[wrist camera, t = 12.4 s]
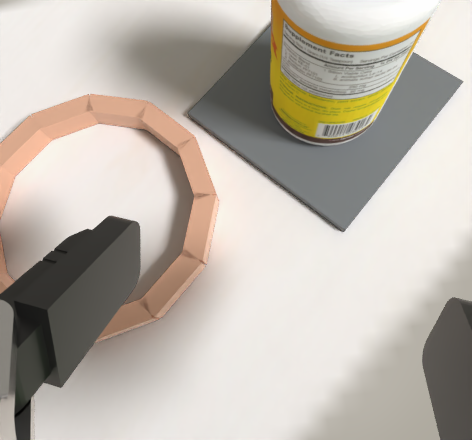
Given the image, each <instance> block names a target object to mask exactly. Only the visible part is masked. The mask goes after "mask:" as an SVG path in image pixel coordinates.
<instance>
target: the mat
mask: <svg viewBox="0 0 472 440" xmlns="http://www.w3.org/2000/svg"><path fill="white" fill-rule="evenodd" d="M270 56H271V25H270V27H269V28H268V29H267V30H266V31H265V32H264V33H263V34H262V35H261V36H260V37H259V38H258V39H257V40H256V41H255V42H254V43H253V45H252V46H251V47H250V48H249V49H248V50H247V51H246V52H245V53H244V54H243V55H242V56H241V57H240V58H239V59H238V60H237V61H236V62H235V64H234V65H233V66H232V67H231V68H230V69H229V70H228V71H227V72H226V73H225V74H224V75H223V76H222V77H221V78H220V79H219V80H218V82H217V83H216V84H215V85H214V86H213V87H212V88H211V89H210V90H209V91H208V92H207V93H206V94H205V95H204V96H203V97H202V98H201V99H200V101H199V102H198V103H197V104H196V105H195V106H194V107H193V108H192V109H191V110H190V111H189V112H188V115H189V117H190V118H192V119H193V120H194V121H196V122H197V123H198V124H200V125H201V126H202V127H204V128H205V129H206V130H208V131H209V132H210V133H212V134H213V135H214V136H216V137H217V138H218V139H220V140H221V141H222V142H224V143H225V144H226V145H228V146H229V147H230V148H232V149H233V150H234V151H236V152H237V153H238V154H240V155H241V156H242V157H244V158H245V159H246V160H248V161H249V162H250V163H252V164H253V165H254V166H256V167H257V168H259V169H260V170H261V171H263V172H264V173H265V174H267V175H268V176H269V177H271V178H272V179H273V180H275V181H276V182H277V183H279V184H280V185H281V186H283V187H284V188H285V189H287V190H288V191H289V192H291V193H292V194H293V195H295V196H296V197H297V198H299V199H300V200H301V201H303V202H304V203H305V204H307V205H308V206H309V207H311V208H312V209H313V210H315V211H316V212H317V213H319V214H320V215H321V216H323V217H324V218H325V219H327V220H328V221H330V222H331V223H332V224H334V225H335V226H336V227H338V228H339V229H340V230H342V231H343V232H344V231H345V230H346V229H347V227H348V226H349V225H350V224H351V222H352V221H353V220H354V219H355V217H356V216H357V215H358V214H359V212H360V211H361V210H362V209H363V207H364V206H365V205H366V203H367V202H368V201H369V200H370V198H371V197H372V196H373V195H374V193H375V192H376V191H377V190H378V188H379V187H380V186H381V185H382V183H383V182H384V181H385V180H386V178H387V177H388V176H389V175H390V173H391V172H392V171H393V170H394V168H395V167H396V166H397V165H398V163H399V162H400V161H401V160H402V158H403V157H404V156H405V155H406V153H407V152H408V151H409V150H410V148H411V147H412V146H413V144H414V143H415V142H416V141H417V139H418V138H419V137H420V136H421V134H422V133H423V132H424V131H425V129H426V128H427V127H428V126H429V124H430V123H431V122H432V121H433V119H434V118H435V117H436V116H437V114H438V113H439V112H440V111H441V109H442V108H443V107H444V106H445V104H446V103H447V102H448V101H449V99H450V98H451V97H452V96H453V94H454V93H455V92H456V90H457V89H458V88H459V87H460V85H461V84H462V83H463V81H462V80H460V79H458V78H457V77H455V76H453V75H451V74H450V73H448V72H446V71H445V70H443V69H441V68H439V67H438V66H436V65H434V64H433V63H431V62H429V61H428V60H426V59H424V58H422V57H421V56H419V55H417V54H416V53H414V52H413V53H412V55H411V57H410V58H409V60H408V62H407V64H406V66H405V67H404V69H403V71H402V73H401V75H400V77H399V79H398V80H397V82H396V84H395V86H394V88H393V89H392V91H391V93H390V95H389V97H388V99H387V100H386V102H385V104H384V106H383V107H382V109H381V111H380V113H379V115H378V116H377V118H376V120H375V121H374V123H373V124H372V125H371V126H370V127H369V128H368V129H367V130H366V131H365V132H364V133H363V134H361V135H360V136H358V137H357V138H355V139H353V140H351V141H348V142H346V143H342V144H338V145H331V146H321V145H314V144H310V143H306V142H304V141H301V140H299V139H297V138H295V137H294V136H292V135H291V134H290V133H288V132H287V131H286V130H285V129H284V128H283V127H282V126H281V124H280V123H279V122H278V120H277V119H276V117H275V115H274V112H273V110H272V106H271V100H270V64H271V57H270Z"/></svg>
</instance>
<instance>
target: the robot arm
mask: <svg viewBox="0 0 472 440" xmlns="http://www.w3.org/2000/svg"><path fill="white" fill-rule="evenodd" d="M139 274H140V226H139V223H138V222H136V221H132V220H127V219H123V218H119V217H115V216H108V217H107V218H106V219H104V220H103V221H102V222H101V223H100V224H99V225H98V226H97V227H95V228H94V229H93V230H90V229H86V230H83V231H81V232H79V233H76V234H74V235H72V236H69V237H68V238H67V239H65V240H64V241H63V242H62V243H61V244H59V245H58V246H57V247H56V248H55V250H54V251H51V252H50V253H49V254H47V255H46V256H45V257H44V258H43V260H42V261H39V262H38V263H37V264H35V265H34V266H33V267H32V268H31V269H29V270H28V271H27V272H26V273H25V274H23V275H22V276H21V277H20V278H19V279H18V280H16V281H15V282H14V283H13V284H12V285H10V286H9V287H8V288H7V289H6V290H4V291H3V292H2V293H1V294H0V440H34V426H35V401H34V394H35V392H36V391H37V390H38V389H39V387H40V386H41V385H42V384H43V382H44V383H47V384H51V385H54V386H57V387H60V388H61V387H62V386H63V385H64V383H65V382H66V381H67V379H68V378H69V377H70V375H71V374H72V373H73V371H74V370H75V368H76V367H77V366H78V364H79V363H80V362H81V360H82V359H83V358H84V356H85V355H86V353H87V352H88V351H89V349H90V348H91V347H92V345H93V344H94V343H95V341H96V340H97V339H98V337H99V336H100V334H101V333H102V332H103V330H104V329H105V328H106V326H107V325H108V324H109V322H110V321H111V319H112V318H113V317H114V315H115V314H116V313H117V311H118V310H119V309H120V307H121V306H122V304H123V303H124V302H125V300H126V299H127V298H128V296H129V295H130V294H131V292H132V291H133V289H134V288H135V286H136V284H137V281H138V278H139ZM422 362H423V369H424V373H425V377H426V381H427V386H428V390H429V394H430V398H431V402H432V407H433V411H434V415H435V419H436V423H437V428H438V432H439V436H440V440H472V302H471V301H467V300H463V299H459V298H451V299H450V300H449V301H448V302H447V303H446V305H445V307H444V309H443V311H442V312H441V314H440V316H439V318H438V320H437V322H436V324H435V326H434V327H433V329H432V331H431V333H430V335H429V337H428V338H427V341H426V343H425V346H424V349H423V359H422Z"/></svg>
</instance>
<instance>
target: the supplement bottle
mask: <svg viewBox="0 0 472 440" xmlns="http://www.w3.org/2000/svg"><path fill="white" fill-rule="evenodd" d="M440 2H441V0H271V56H270V57H271V64H270V100H271V106H272V110H273V112H274V115H275V117H276V119H277V120H278V122H279V123H280V124H281V126H282V127H283V128H284V129H285V130H286V131H287V132H288V133H290V134H291V135H292V136H294V137H295V138H297V139H299V140H301V141H304V142H306V143H310V144H314V145H321V146H331V145H338V144H342V143H346V142H348V141H351V140H353V139H355V138H357V137H358V136H360V135H361V134H363V133H364V132H365V131H366V130H367V129H368V128H369V127H370V126H371V125H372V124H373V123H374V121H375V120H376V118H377V116H378V115H379V113H380V111H381V109H382V107H383V106H384V104H385V102H386V100H387V99H388V97H389V95H390V93H391V91H392V89H393V88H394V86H395V84H396V82H397V80H398V79H399V77H400V75H401V73H402V71H403V69H404V67H405V66H406V64H407V62H408V60H409V58H410V57H411V55H412V53H413V51H414V49H415V48H416V46H417V44H418V42H419V40H420V38H421V36H422V35H423V33H424V31H425V29H426V27H427V25H428V24H429V22H430V20H431V18H432V16H433V15H434V13H435V11H436V9H437V8H438V6H439V4H440Z"/></svg>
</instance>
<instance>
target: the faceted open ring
mask: <svg viewBox="0 0 472 440" xmlns="http://www.w3.org/2000/svg"><path fill="white" fill-rule="evenodd" d="M98 123H100V124H108V125H115V126H123V127H131V128H138V129H146V130H147V131H149V132H150V133H151V134H152V135H154V136H155V137H156V138H158V139H159V140H160V141H161V142H163V143H164V144H165V145H166V146H168V147H169V148H170V149H172V150H173V151H174V152H175V153H177V154H178V155H179V156H180V157H181V159H182V162H183V165H184V168H185V171H186V174H187V177H188V179H189V182H190V185H191V188H192V191H193V194H194V200H193V205H192V209H191V214H190V219H189V223H188V228H187V232H186V237H185V241H184V246H183V251H182V253H181V254H180V255H179V256H178V257H177V259H176V260H175V261H174V262H173V263H172V264H171V265H170V266H169V268H168V269H167V270H166V271H165V272H164V273H163V274H162V276H161V277H160V278H159V279H158V280H157V281H156V282H155V284H154V285H153V286H152V287H151V288H150V289H149V290H148V292H147V293H146V294H145V295H144V296H143V297H142V298H141V299H139V300H136V301H133V302H130V303H128V304H125V305H122V306H121V307H120V309H119V310H118V311H117V313H116V314H115V315H114V317H113V318H112V319H111V321H110V322H109V324H108V325H107V326H106V328H105V329H104V330H103V332H102V333H101V334H100V336H99V337H98V339H97V340H96V341H95V343H97V342H100V341H102V340H105V339H108V338H110V337H113V336H116V335H119V334H121V333H124V332H127V331H129V330H132V329H135V328H137V327H140V326H143V325H146V324H148V323H151V322H154V321H156V320H159V318H162V317H163V316H164V315H165V313H166V312H167V311H168V310H169V309H170V308H171V306H172V305H173V304H174V303H175V302H176V301H177V299H178V298H179V297H180V296H181V295H182V294H183V292H184V291H185V290H186V289H187V288H188V287H189V285H190V284H191V283H192V282H193V281H194V280H195V278H196V277H197V276H198V275H199V274H200V273H201V271H202V270H203V269H204V268H205V267H206V266H205V265H204V264H207V260H208V256H209V251H210V246H211V241H212V236H213V231H214V226H215V221H216V216H217V211H218V206H219V202H218V201H219V200H218V197H217V195H216V192H215V189H214V186H213V184H212V181H211V178H210V175H209V173H208V170H207V167H206V165H205V162H204V159H203V156H202V154H201V151H200V148H199V145H198V143H197V140H196V137H195V136H194V135H193V134H191V133H190V132H189V131H188V130H186V129H185V128H184V127H182V126H181V125H180V124H178V123H177V122H176V121H174V120H173V119H172V118H170V117H169V116H168V115H166V114H165V113H164V112H162V111H161V110H160V109H159V108H157V107H156V106H155V105H153V104H152V103H151V102H149V103H148V101H144V100H136V99H128V98H120V97H112V96H104V95H95V94H90V95H89V94H88V95H85V96H82V97H79V98H76V99H73V100H71V101H68V102H65V103H62V104H59V105H56V106H54V107H51V108H48V109H45V110H42V111H39V112H37V113H34V114H32V117H31V116H29V117H28V118H27V119H26V120H24V121H23V122H22V123H21V124H20V125H19V126H18V127H17V128H16V129H15V130H14V131H13V132H12V133H11V134H10V135H9V136H8V137H7V138H6V139H5V140H4V141H3V142H2V143H1V144H0V219H1V216H2V213H3V210H4V207H5V205H6V202H7V199H8V196H9V193H10V190H11V188H12V185H13V182H14V179H15V176H16V175H17V174H18V173H19V172H20V171H21V170H22V169H23V168H24V167H25V166H26V165H27V164H28V163H29V162H30V161H31V160H32V159H33V158H34V157H35V156H36V155H37V154H38V153H39V152H40V151H41V150H42V149H43V148H44V147H45V146H46V145H47V144H48V143H49V142H51V141H52V140H53V139H56V138H59V137H62V136H65V135H68V134H70V133H73V132H76V131H79V130H82V129H84V128H87V127H90V126H93V125H96V124H98ZM14 282H15V281H14V280H13V279H12V278H11V277H10V276H9V275H8V274H7V268H6V263H5V257H4V252H3V246H2V241H1V235H0V294H1V293H2V292H3V291H4V290H6V289H7V288H8V287H9V286H10V285H12V284H13V283H14Z"/></svg>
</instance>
